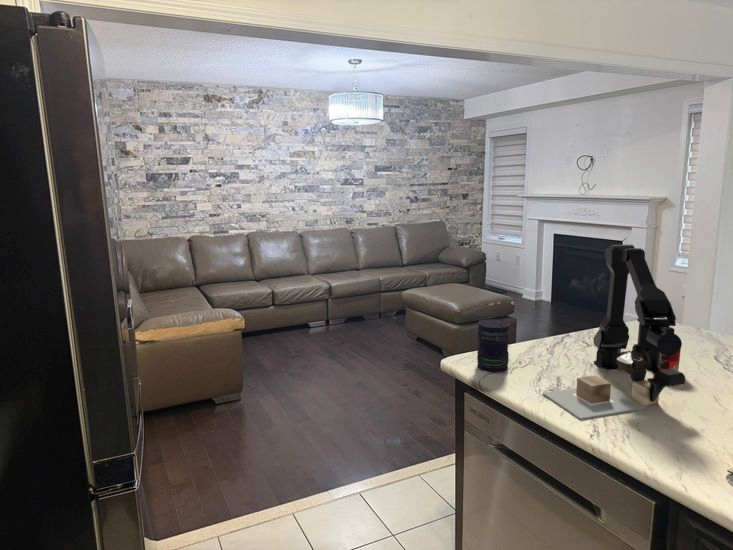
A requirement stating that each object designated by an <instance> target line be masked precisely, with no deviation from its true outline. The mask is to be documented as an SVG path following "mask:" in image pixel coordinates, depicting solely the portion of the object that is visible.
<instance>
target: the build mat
mask: <svg viewBox="0 0 733 550" xmlns="http://www.w3.org/2000/svg"><path fill="white" fill-rule="evenodd" d="M576 390H577V387H573V388H566V389H560V390H554V391H546V392H542V395H543V396H544V397H545V398H547V399H548V400H550V401H552V402H553V403H555V404H556V405H557V404H558V405H557V406H559V405H560V406H561V408H562V407H563V408H564V409H563V408H562V409H563V410H565V409H566V410H567V413H569V412H570V413H569V414H570V415H572V416H574V417H575V418H577V419H578V420H580V421H582V420H587V419H593V418H600V417H607V416H611V415H618V414H623V413H631V412H636V411H643V410H646V409H647V407H646V406H644V405H642V404H640V403H638V402H636V401H635V400H633V399H632V398H629V397H627V396H625V395H624V394H621V393H620V392H619V391H617V390H615V389H612V388H611V391H610V401H605V402H599V403H592V404H591V403H589V402H587V401H586V400H584V399H582V398H581V397H579V396H577V395H576ZM560 406H559V407H560ZM566 410H565V411H566Z"/></svg>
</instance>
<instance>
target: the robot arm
mask: <svg viewBox="0 0 733 550" xmlns="http://www.w3.org/2000/svg"><path fill="white" fill-rule="evenodd" d="M604 258H605V264H606V266H607V267H608V269H609V271H610V279H609V287H608V297H607V299H608V300H607V310H606V316H605V317H604V318H603V320H602V321H600V324H599V328H598V330H597V332H596V333H595V335H594V336H593V340H592V341H593V345H594V346H595V347H596V348H597V350H596V359H595V360H593V364H595V365H597V366H600V367H602V368H604V369H606V370H613V369H619V370H620V371H622V372H624V373H626V374H629V376H630V379H631V381H632V383H633V382H634V381H641V380H648V382H649V383H650V401H651V402H652V401H655V399H656V398H657V397H658V395H659V396H660V394H661V392H662V391H663V390H664V388H665V387H674V386H681V385H685V383H686V375H685V374H684V373H683V372H681V371H679V370H678V371H676V370H674V369H665V370H662V369H660V367H662V366H664V362H662V361H661V353H662V354H664V355H667V356H670V355H674V354H676V353H677V352H678V351H679V350H680V349H682V345H683V343H682V339H681V338H680V336H679V335H677V334H676V333H675V328H674V327H676V325H677V324H676V320H677V318H676V315H675V312H674V309H673V307H672V303H671V301H670V300H669V298H668V296H667V295H666V293H665V291H663V289H660V288H659V287H658V286H657V285H656V283H655V280H654V278H653V276H652V272H651V269H650V268H649V265H648V263H647V260H646V252H645V250H644V249H643V248H641V247H640V248H639V247H638V248H637V247H635V246H634V245H633V244H610V245H609V246H608V247H607V248H606V249H605V251H604ZM629 275H630V278H631V280H632V284H633V286H634V290H635V292H636V297H635V300H634V309H635V312H636V315H637V319H636V320H637V322H638V334H637V343H635V344H633V346H632V350H628V351H627V347H628V342H629V339H630V334H629V331H630V330H629V326H627V325H626V323H625V321H624V314H625V307H626V299H627V298H626V295H627V287H628V279H629ZM622 350H626V351H622ZM647 372H649V373H651V374H653V375H652V377H650V378H646V375H647Z"/></svg>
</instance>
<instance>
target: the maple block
mask: <svg viewBox="0 0 733 550" xmlns="http://www.w3.org/2000/svg"><path fill="white" fill-rule="evenodd" d="M659 397H660V394H659V395H658V397H657V398H656V399H655V401H652V402H651V401H650V383H649V382H648V380H647V379H645V380H641V381H634V382H632V389H631V400H633V401H635V402H637V403H639V404H641V405H642V406H644V407H646V406H651V405H656V404H659V400H660V399H659Z"/></svg>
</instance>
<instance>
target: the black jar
mask: <svg viewBox="0 0 733 550" xmlns="http://www.w3.org/2000/svg"><path fill="white" fill-rule="evenodd" d="M477 326H478V327H477V328H478V329H477V340H478V349H477V354H476V355H477V356H476V359H477V362H476V363H477V369H478V368H479V370H480V371H482V372H484V371H486V372H485V373H489V372H491V373H492V374H502V373H505V372H507V371H508V369H509V361H510V360H509V359H510V358H509V341H510V322H509V321H507V320H504V319H500V318H499V319H498V318H483V319H480V320H478V324H477Z"/></svg>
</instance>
